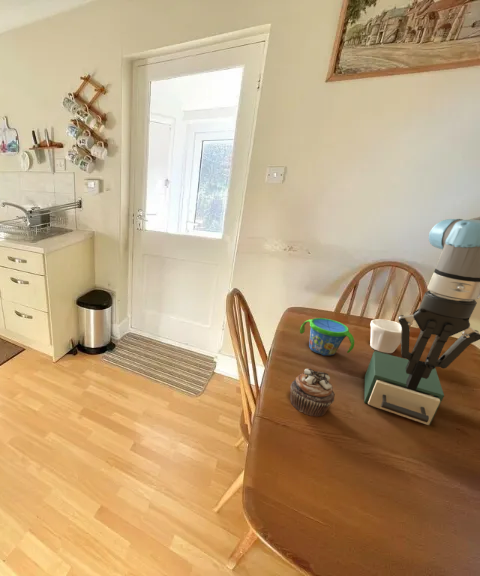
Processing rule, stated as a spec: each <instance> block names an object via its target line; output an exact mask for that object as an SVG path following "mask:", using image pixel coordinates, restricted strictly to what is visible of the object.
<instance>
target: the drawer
mask: <svg viewBox="0 0 480 576" xmlns="http://www.w3.org/2000/svg"><path fill="white" fill-rule="evenodd" d="M439 403H440V399H439V398H436V397H434V395H431V394H428V393H425V392H421V391H418V390H416V391H415V390H412V389H409V388H407V387H405V386H401V385H398V384H395V383H391V382H388V381H385V380H381V379H377V380H376V383H375V386H374V388H373V391H372V393H371V396H370V399H369V401H368V404H367V405H369V406H371V407H374V408H377V409H380V410H383V411H386V412H389V413H392V414H394V415H397V416H401V417H403V418H406V419H408V420H412V421H415V422H418V423H420V424H424V425H426V426H430V425H431V424H430V422H431V420H432V418H433V416H434V414H435V411H436V409H437V407H438V405H439ZM440 404H441V403H440ZM439 406H440V405H439ZM438 408H439V407H438ZM437 410H438V409H437ZM435 415H436V414H435ZM434 417H435V416H434ZM433 419H434V418H433ZM432 421H433V420H432ZM431 423H432V422H431ZM429 424H430V425H429Z"/></svg>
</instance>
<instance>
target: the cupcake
mask: <svg viewBox="0 0 480 576" xmlns="http://www.w3.org/2000/svg"><path fill="white" fill-rule="evenodd" d="M330 379H331V376H330V375H329V373H327V372H325V371H324V372H323V371H319V370H314V369H312V368H305V369H304V371H303V372H302V373H300V374H298V375H297V376H296V377H295V379H294V380H292V382H291V384H290V404H291V405H292V407H293V408H294V409H296V411H299V412H300V413H302V414H304V415H307V416H310V417H323V416H324V415H325V414H326V412H327V411H328V409H329V408H330V406H332V404H333V403H334V402H335V397H336V395H335V391H334V387H333V384H332V383H331V381H330Z"/></svg>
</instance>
